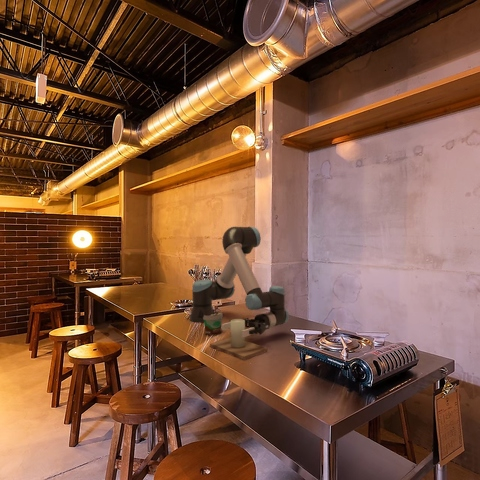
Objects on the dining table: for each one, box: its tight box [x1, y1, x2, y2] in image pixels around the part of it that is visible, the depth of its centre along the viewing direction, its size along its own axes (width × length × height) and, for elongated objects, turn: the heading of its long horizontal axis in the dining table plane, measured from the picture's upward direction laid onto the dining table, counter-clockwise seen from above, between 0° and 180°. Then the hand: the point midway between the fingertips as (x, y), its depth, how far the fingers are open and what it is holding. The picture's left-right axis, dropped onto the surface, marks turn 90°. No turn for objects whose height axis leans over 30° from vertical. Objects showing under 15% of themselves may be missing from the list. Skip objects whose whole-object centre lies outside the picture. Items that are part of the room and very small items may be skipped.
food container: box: [203, 310, 224, 336], centre depth 164 cm, size 12×6×10 cm, turn 143°
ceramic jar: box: [230, 318, 246, 348], centre depth 141 cm, size 6×6×11 cm
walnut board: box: [209, 336, 268, 361], centre depth 141 cm, size 22×14×2 cm, turn 44°
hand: (232, 330), depth 138 cm, fingers open, 13 cm apart
